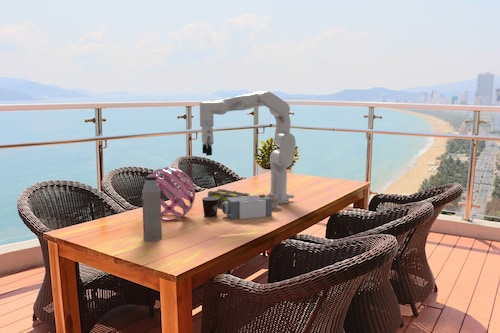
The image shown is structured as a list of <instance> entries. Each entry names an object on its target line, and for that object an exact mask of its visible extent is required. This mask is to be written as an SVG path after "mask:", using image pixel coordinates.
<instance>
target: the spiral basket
mask: <svg viewBox="0 0 500 333" xmlns="http://www.w3.org/2000/svg"><path fill="white" fill-rule="evenodd" d="M168 170H170V171H172V172H169V171H168ZM158 172H159V173H162V176H163V177H164V178H163V177H161V176H159V175H158ZM146 177H157V179H156V180H157V184H159V189H160V191H161V193H162V194H163V195H164V196H165V197H166V198H167V199H168V200H169V201H170V202H171V203H170V204H168V203H166V202H165V201H164V200H163V199H162V198H161V207H162V208H164V210H163V211H161V221H167V222H171V221H177V220H179V219H181V218H183V217H185V216H186V215H187V214H188V213H189V212H190V210H191V209H192V207H193V206H194V202H195V199H196V191H195V185H194V182H193V181H192V179H191V178H190V176H189V175H188V174H186V172H184V171H183V170H181V169H179V168H173V167H171V166H170V167H169V166H168V167H167V166H166V167H164V168H158V169H155V170H153V172H152V173H151V174H150V173H149V174H148V175H147V176H146ZM145 181H146V179H145ZM175 183H176V184H177V185H178V186H176V184H175ZM190 192H192V194H191V193H190ZM184 200H187V201H189V205H188V204H186V202H185V201H184ZM175 207H178V208H181V209H182V213H181V212H179V211H177V210H175ZM169 213H170V214H172V215H174V216H176V217H174V218H162V217H163V216H165V215H167V214H169Z"/></svg>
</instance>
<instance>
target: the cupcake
mask: <svg viewBox="0 0 500 333" xmlns="http://www.w3.org/2000/svg"><path fill="white" fill-rule="evenodd" d="M265 195H266V196H268V197H270V198H271V199H272V210H275V209H276V210H277V208H278V205H279V204H278V203H279V200H277V196H276V195H274V194H273V193H272V192H271V191H270V193H268V194H265Z"/></svg>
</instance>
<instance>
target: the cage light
mask: <svg viewBox="0 0 500 333" xmlns="http://www.w3.org/2000/svg"><path fill="white" fill-rule="evenodd" d="M248 195H251V194H249V193H247V192H244V193H243V192H240V191H239V192H238V191H237V190H228V189H223V188H222V189H221V188H218V189H216V190H213V191H212V190H209V191H208V192H207V197H217V198H219V199H220V201H221V203H220V205H219V202H220V201H219V200H218V205H219V207H218V209H219V208H220V209H222V204H223V202H226V198H229V197H244V196H248Z"/></svg>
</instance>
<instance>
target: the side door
mask: <svg viewBox="0 0 500 333" xmlns="http://www.w3.org/2000/svg"><path fill="white" fill-rule="evenodd" d="M258 195H259V194H250V195H248V201H243V202H239V219H238V220H240V221H241V220H251V219H264V218H267V216H266V200H258Z"/></svg>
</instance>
